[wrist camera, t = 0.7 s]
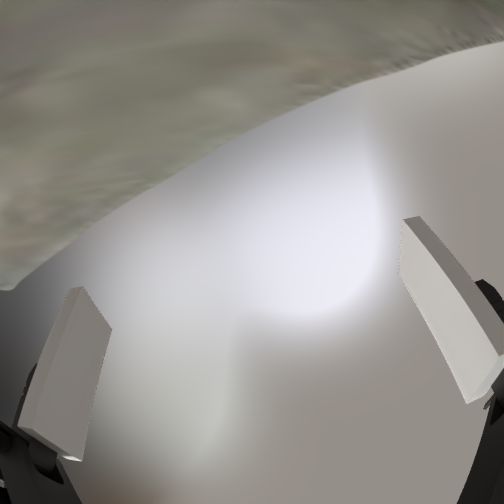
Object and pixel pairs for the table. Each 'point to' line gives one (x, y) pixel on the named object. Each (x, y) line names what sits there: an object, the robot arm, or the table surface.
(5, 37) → the table surface
